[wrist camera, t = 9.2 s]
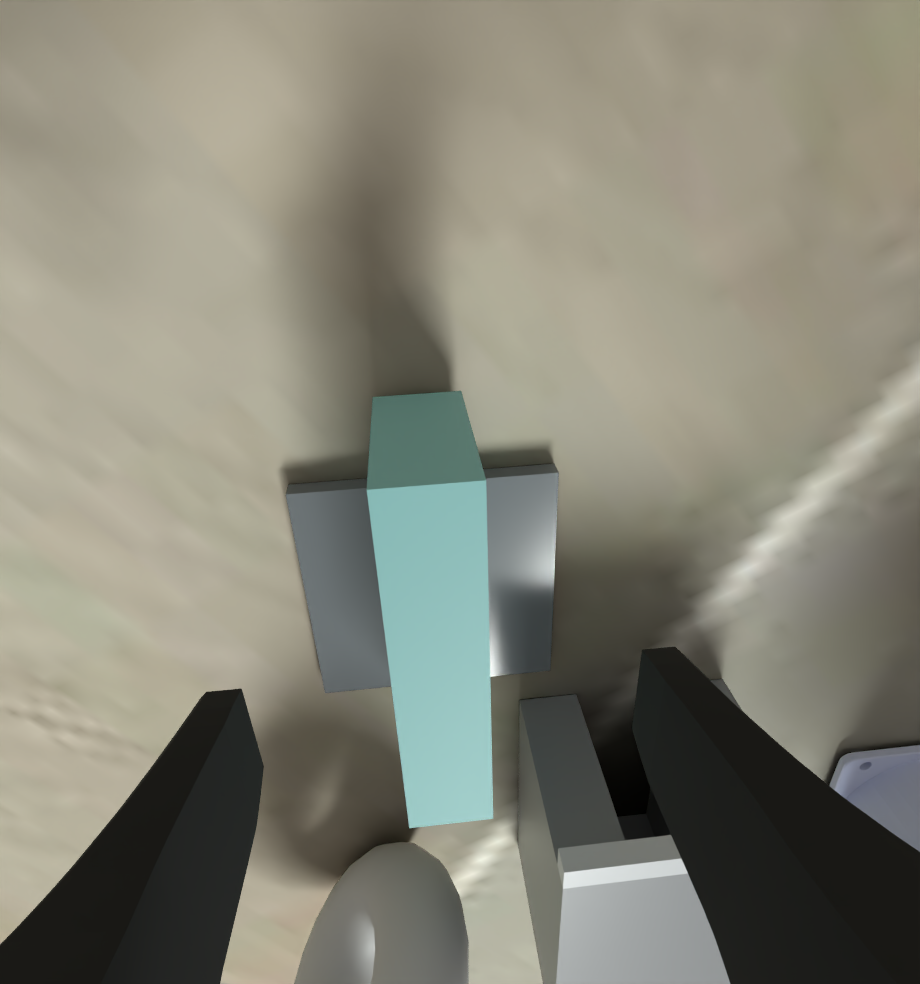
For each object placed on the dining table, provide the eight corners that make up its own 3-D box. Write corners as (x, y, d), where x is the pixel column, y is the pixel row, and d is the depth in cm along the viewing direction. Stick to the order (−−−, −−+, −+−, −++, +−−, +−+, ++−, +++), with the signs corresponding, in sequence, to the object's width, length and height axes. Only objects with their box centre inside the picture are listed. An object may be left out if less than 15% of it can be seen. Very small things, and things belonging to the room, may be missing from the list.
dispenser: (726, 663, 24) (838, 839, 18) (690, 824, 29) (768, 1005, 23) (519, 685, 24) (563, 872, 18) (518, 844, 29) (552, 1035, 23)
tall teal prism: (461, 390, 17) (486, 480, 13) (472, 683, 23) (493, 818, 18) (372, 397, 17) (366, 489, 13) (405, 689, 23) (408, 828, 18)
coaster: (554, 463, 19) (558, 472, 19) (546, 658, 23) (550, 670, 23) (288, 484, 19) (285, 494, 18) (326, 680, 23) (325, 693, 22)
